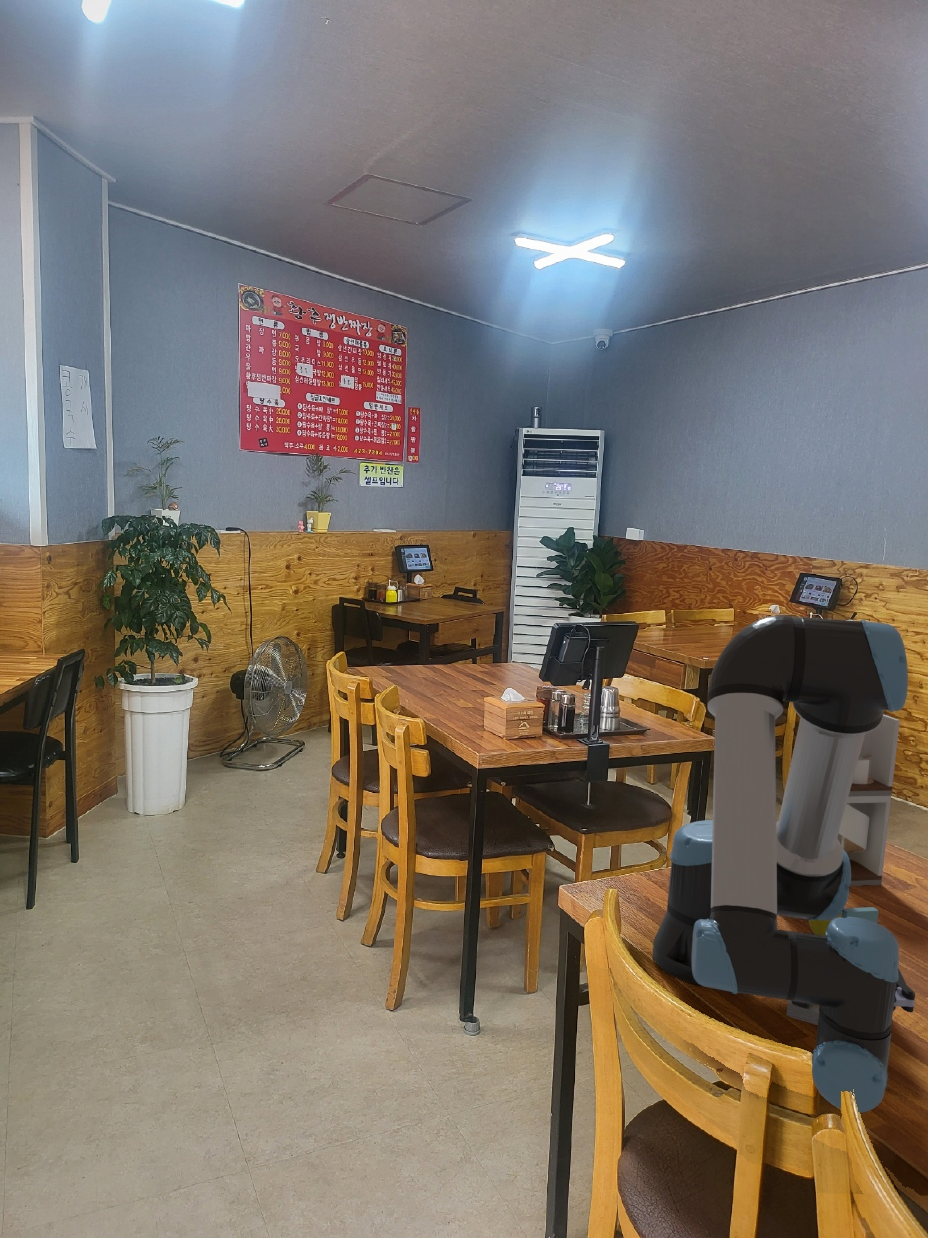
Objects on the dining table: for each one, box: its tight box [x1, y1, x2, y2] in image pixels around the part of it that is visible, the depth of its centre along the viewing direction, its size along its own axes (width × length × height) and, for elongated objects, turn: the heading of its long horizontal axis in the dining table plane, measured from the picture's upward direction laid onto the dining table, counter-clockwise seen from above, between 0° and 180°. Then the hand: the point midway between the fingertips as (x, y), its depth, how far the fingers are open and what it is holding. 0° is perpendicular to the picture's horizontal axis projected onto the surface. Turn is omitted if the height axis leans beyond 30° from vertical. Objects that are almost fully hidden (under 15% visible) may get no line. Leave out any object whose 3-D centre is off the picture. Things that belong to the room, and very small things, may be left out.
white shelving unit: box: [837, 714, 901, 887], centre depth 177 cm, size 11×11×35 cm
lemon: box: [807, 912, 842, 936], centre depth 150 cm, size 6×6×8 cm
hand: (867, 938), depth 126 cm, fingers closed
